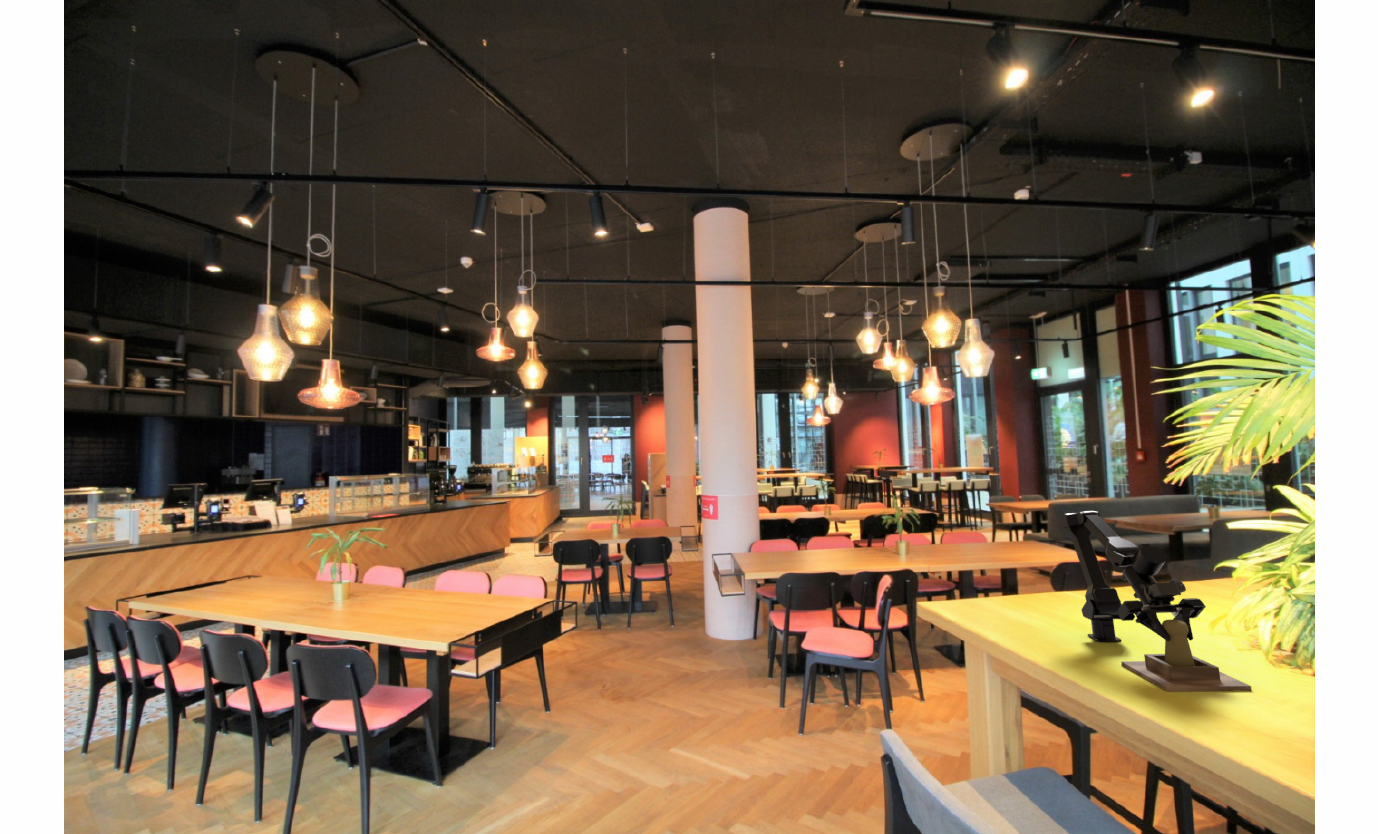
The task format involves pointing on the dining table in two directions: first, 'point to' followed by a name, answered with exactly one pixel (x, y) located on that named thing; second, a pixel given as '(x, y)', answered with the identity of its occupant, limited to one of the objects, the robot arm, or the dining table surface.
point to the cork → (1177, 644)
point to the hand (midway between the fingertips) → (1180, 640)
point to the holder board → (1183, 675)
